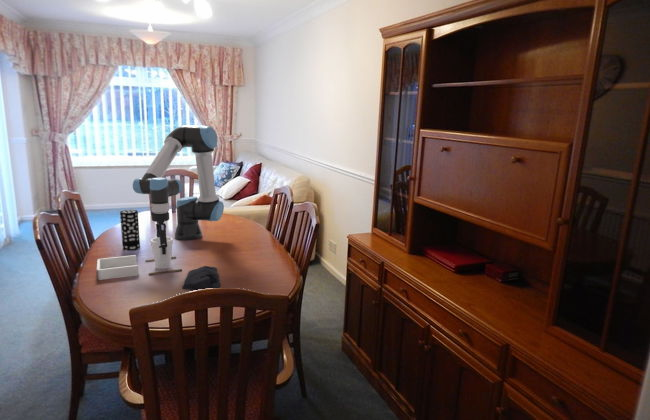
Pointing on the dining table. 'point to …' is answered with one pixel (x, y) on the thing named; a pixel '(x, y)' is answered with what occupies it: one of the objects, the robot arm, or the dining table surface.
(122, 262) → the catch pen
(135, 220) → the white-spotted black cylinder
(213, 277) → the dark slate chunk
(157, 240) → the foam cup
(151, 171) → the robot arm
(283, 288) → the dining table surface
